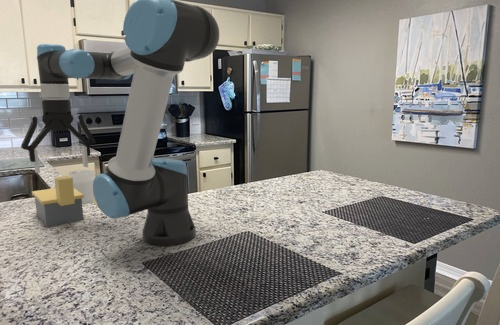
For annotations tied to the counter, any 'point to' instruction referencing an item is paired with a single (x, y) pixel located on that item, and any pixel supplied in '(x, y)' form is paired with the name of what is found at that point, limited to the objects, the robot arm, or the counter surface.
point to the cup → (83, 183)
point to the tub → (59, 212)
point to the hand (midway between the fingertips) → (62, 169)
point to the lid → (59, 192)
